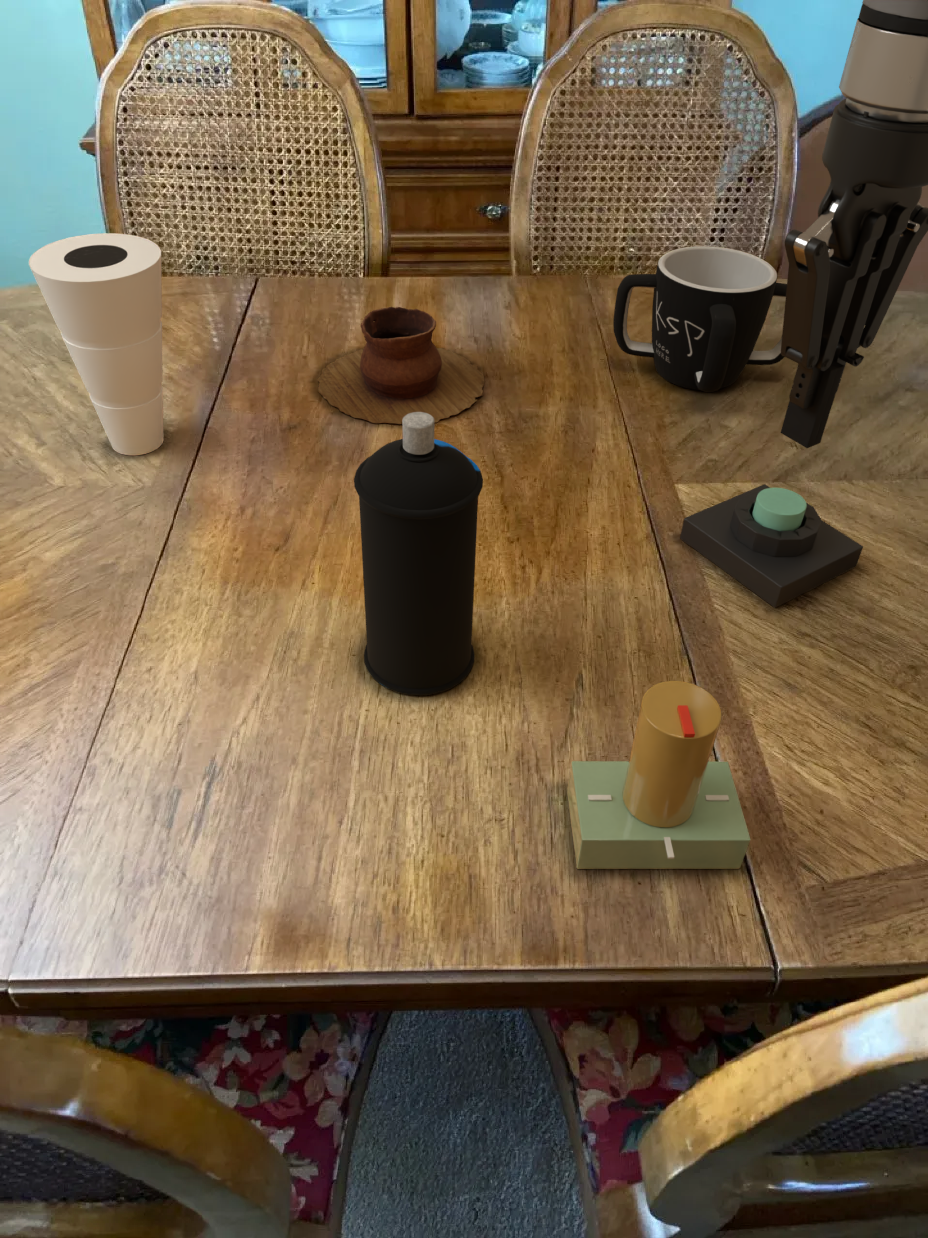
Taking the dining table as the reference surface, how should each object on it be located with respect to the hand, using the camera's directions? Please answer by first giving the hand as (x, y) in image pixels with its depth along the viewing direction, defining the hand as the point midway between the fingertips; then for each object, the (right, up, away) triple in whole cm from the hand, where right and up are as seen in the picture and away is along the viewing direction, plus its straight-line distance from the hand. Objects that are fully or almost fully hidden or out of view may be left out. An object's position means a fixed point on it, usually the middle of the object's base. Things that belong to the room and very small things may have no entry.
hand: (800, 437), depth 75 cm
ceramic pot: (-33, +11, +28) cm, 45 cm away
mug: (-1, +13, +32) cm, 34 cm away
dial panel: (-15, -27, -15) cm, 34 cm away
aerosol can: (-30, -17, -3) cm, 34 cm away
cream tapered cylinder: (-58, +3, +18) cm, 61 cm away
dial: (-14, -25, -17) cm, 33 cm away
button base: (0, -8, +7) cm, 11 cm away
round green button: (0, -6, +5) cm, 8 cm away
